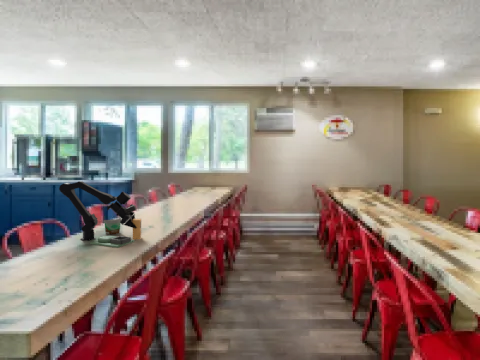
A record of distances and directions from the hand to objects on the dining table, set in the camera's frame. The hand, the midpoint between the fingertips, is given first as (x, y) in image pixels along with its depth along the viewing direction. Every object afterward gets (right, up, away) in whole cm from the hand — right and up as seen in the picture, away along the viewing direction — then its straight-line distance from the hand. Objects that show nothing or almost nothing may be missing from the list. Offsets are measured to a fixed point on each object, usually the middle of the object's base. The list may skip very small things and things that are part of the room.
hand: (137, 226), depth 204 cm
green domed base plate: (-11, -8, -11) cm, 18 cm away
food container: (-19, -7, +12) cm, 24 cm away
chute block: (0, -8, 0) cm, 8 cm away
